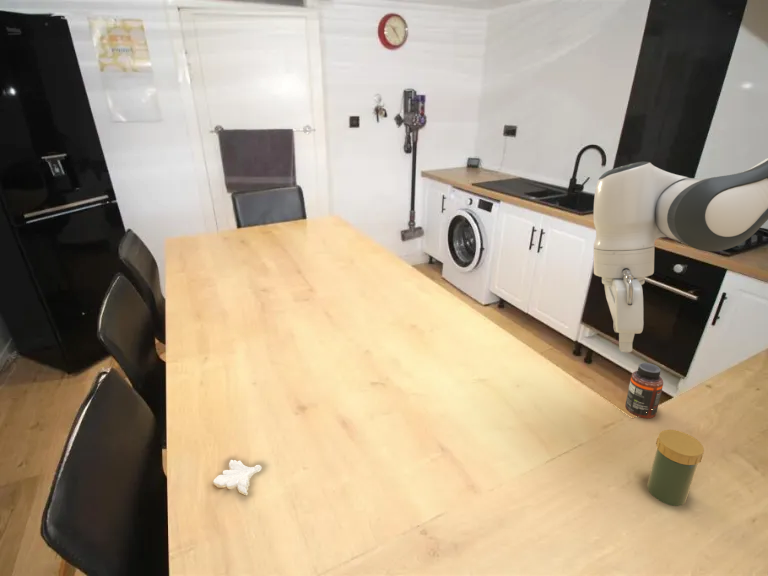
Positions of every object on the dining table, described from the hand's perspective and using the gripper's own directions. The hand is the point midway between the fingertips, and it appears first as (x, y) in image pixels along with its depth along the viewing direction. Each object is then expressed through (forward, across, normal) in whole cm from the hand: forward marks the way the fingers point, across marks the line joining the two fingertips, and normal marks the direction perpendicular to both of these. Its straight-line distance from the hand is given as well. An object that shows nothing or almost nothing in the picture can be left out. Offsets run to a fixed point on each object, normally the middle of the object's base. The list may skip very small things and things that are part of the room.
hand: (622, 340), depth 72 cm
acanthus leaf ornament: (+18, -31, +64) cm, 74 cm away
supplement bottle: (+24, +18, -5) cm, 30 cm away
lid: (+15, -6, -8) cm, 18 cm away
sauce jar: (+26, -5, -6) cm, 27 cm away
